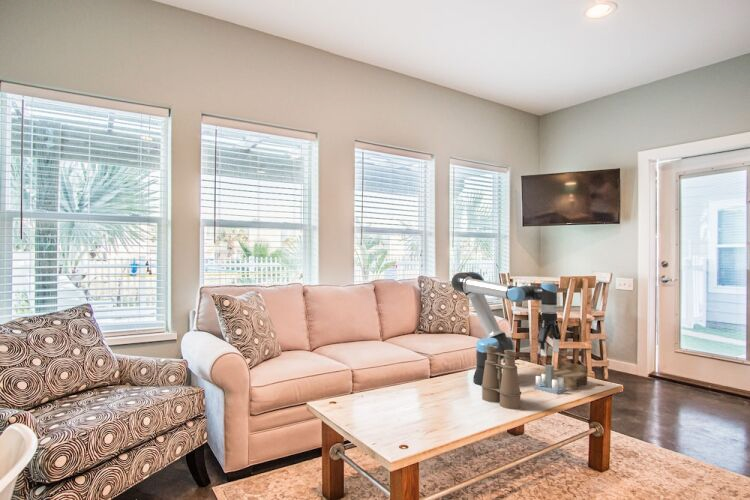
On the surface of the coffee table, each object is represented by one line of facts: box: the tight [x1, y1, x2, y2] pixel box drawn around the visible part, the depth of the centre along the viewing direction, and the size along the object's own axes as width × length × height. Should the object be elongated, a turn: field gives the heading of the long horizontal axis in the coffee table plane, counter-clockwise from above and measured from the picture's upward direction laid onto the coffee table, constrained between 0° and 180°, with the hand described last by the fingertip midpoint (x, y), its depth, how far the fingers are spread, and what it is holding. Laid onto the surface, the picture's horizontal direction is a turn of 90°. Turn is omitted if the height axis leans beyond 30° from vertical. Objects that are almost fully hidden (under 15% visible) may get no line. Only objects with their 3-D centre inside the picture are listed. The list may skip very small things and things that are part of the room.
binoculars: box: [480, 346, 522, 410], centre depth 197 cm, size 21×10×25 cm, turn 34°
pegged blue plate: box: [533, 364, 567, 395], centre depth 216 cm, size 12×10×12 cm
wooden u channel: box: [554, 361, 588, 391], centre depth 226 cm, size 14×15×10 cm
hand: (549, 353), depth 216 cm, fingers open, 13 cm apart
